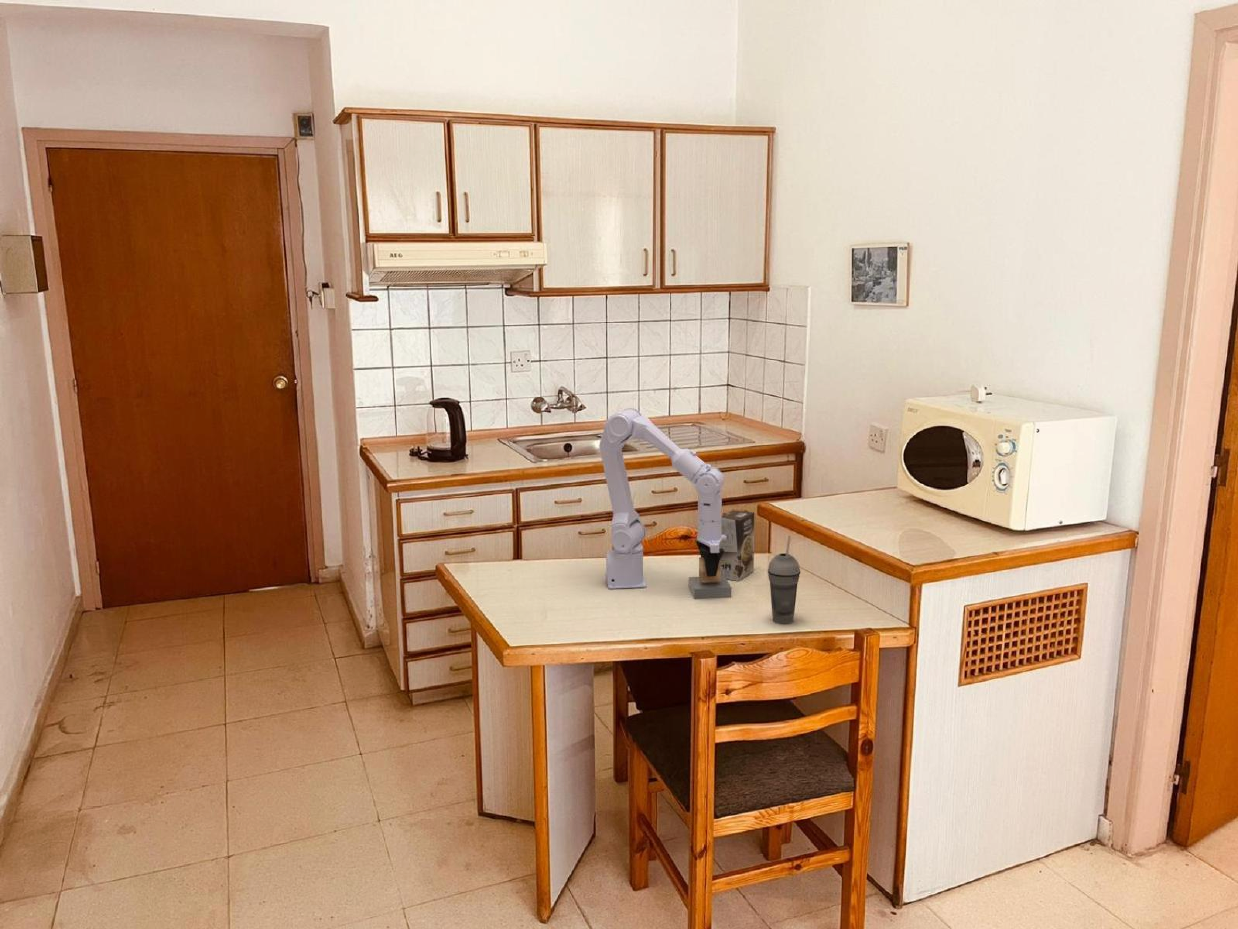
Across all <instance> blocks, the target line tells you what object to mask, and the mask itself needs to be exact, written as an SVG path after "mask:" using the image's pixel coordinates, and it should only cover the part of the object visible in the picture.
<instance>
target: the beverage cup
mask: <svg viewBox="0 0 1238 929" xmlns="http://www.w3.org/2000/svg"><path fill="white" fill-rule="evenodd" d="M786 542H787V544H786V550H785V551H786V552H785V553H784V552H783V553H779V554H776V555H775V556H773V557H772V559H771V560H770V562H769V565H768V569H767V573H768V575H767V576H768V579H769V587H770V590H769V591H770V602H771V605H770V606H771V614H772V621H773V622H774V623H776V624H778V625H789V624H790V625H791V624H792V623H793V622H794V616H795V608H796V602H797V601H796V600H797V592H798V582H799V579H800V575H801V569H800V568H801V567H800V564H799V561H798V560H797V559H796V558H795V557H794V556H793V555H791V554H789V550H790V544H791V543H790V542H791V535H788V536H787V541H786Z"/></svg>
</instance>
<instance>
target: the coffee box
mask: <svg viewBox="0 0 1238 929" xmlns="http://www.w3.org/2000/svg"><path fill="white" fill-rule="evenodd" d="M722 535H726V540H722V541H721V543H720V545H719V549H722V548H723V549H724V553H723V555H722V557H721V559H720V562H721V576H725V577H726V579H727V580H729V581H730V580H731V581H735V582H740V581H741V580H743V579H745V578H746V577H747V576H749V575H751V574H753V573H754V572H755V571H754V570H755V568H754V567H755V512H752V511H744V510H734V509H733V510H731V511H728V512H727V513H725V514H722Z"/></svg>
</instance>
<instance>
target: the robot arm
mask: <svg viewBox="0 0 1238 929" xmlns="http://www.w3.org/2000/svg"><path fill="white" fill-rule="evenodd" d="M629 439H631V440H641V441H643V440H644V441H646V442H647V443H649V444H650V445H651V446H653V447H654V448H655V449H657V450H658V451H659V452H661V453H662V454H664V455H665V456H666V457H667V458H669V459H670V462H671V466H672V468H673V469H674V470H676V472H678V473H679V474H680V475H682V476H683V477H684V478H686V479H687V480H688V481H689V482H690V483H691V484H694V489H695V491H696V492H697V494H698V498H697V499H698V500H697V536H696V541H695V544H696V546H697V548H698V550H699V554H700V557H703V558H704V562H705V568H706V574H707V576H708V577H711V576H716V574H717V570H718V565H719V562H720V559H721V557H722V555H723V553H724V549H723V548H722V549H719V545H720V543H721V541H722V540H726V535H722V515H723V514H722V512H723V511H722V510H723V508H722V507H723V506H722V504H723V503H722V502H723V500H722V490H721V489H722V488H723V486H724V484H725V476H724V474H723V472H721V470H720V468H717V467H712V465H711V464H710V463H706V462H704V460H702V459H701V458H699V456H697V452H696V451H695V450H694V449H691V450H690V449H689V448H680V447H679V446H678V445H677V444H676V443H674V442H673V441H672V440H671V439H670V438H669V437H668V436H667V435H666V434H665V433H664V432H662V431H661V430H660V429H659V428H658V427H657V426H656V425H655V424H654V423H653V422H652V421H651V420H650V419H649V417H648V416H646V415H645V414H642V413H641V412H640V410H638V409H636V408H633V407H628V408H625V409H623V410H622V411H620V412H618V413H614V414H612V415H611V416H609V418H608V419H607V420H606V422H604V424H603V433H602V435H601V438H600V441H599V446H598V447H599V452H600V457H601V462H602V466H603V470H604V471H603V472H604V477H605V480H606V485H607V486H606V487H607V490H608V496H609V499H610V503H611V510H612V520H611V523H610V527H611V535H610V544H611V546H612V548H613V549H610V550H609V549H608V550H606V551H605V561H606V564H605V566H606V569H605V570H606V571H605V580H606V583H607V588H608V589H610V590H612V589H614V590H615V589H633V588H647V582H646V580H645V577H644V552H643V551H644V546H643V544H642V541H644V539H646V534H647V531H646V527H645V525H644V524H643V523H642V521H641V518H640V514H639V513H638V512H637V511H636V510H635V508H634V507H635V506H634V503H633V499H632V493H631V488H630V484H629V479H628V473H627V469H626V465H625V459H624V456H623V454H624V453H623V447H624V446H625V445H626V443H627V442H628V441H629Z"/></svg>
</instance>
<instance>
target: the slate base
mask: <svg viewBox="0 0 1238 929" xmlns="http://www.w3.org/2000/svg"><path fill="white" fill-rule="evenodd" d="M688 588H689V590H690V592H691V594H692V597H693V599H694V600H697V599H698V600H701V599H722V598H732V586H731V584H730V582H729V581H728V579H726V577H725V576H721V582H707V583H702V581H701V579H700V578H699V576H689V577H688Z"/></svg>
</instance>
